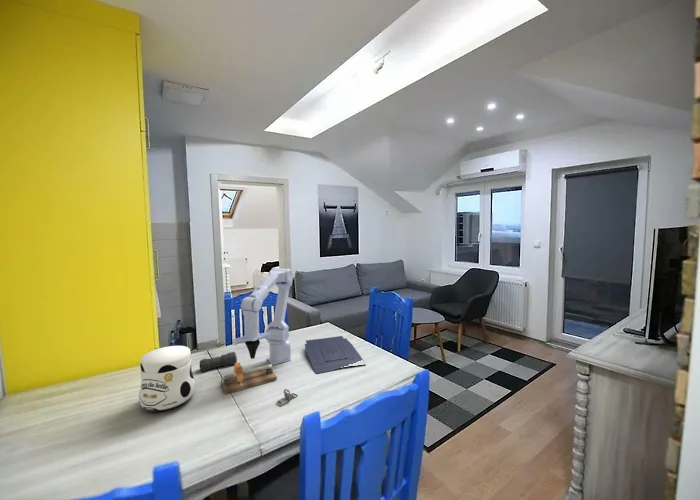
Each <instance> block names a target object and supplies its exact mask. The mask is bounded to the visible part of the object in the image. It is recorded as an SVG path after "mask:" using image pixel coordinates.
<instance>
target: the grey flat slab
mask: <svg viewBox="0 0 700 500" xmlns="http://www.w3.org/2000/svg"><path fill="white" fill-rule="evenodd" d="M304 349H305V351H306V352H305V353H306V354H307V356H308V360H309V361H310V363H311V366H312V369H313V370H314V372H315V374H320V373H326V372H331V371H336V370H335V369H337V370H339V369H338V368H341V367H344V366H348V365H349V364H353V363H356V362H358V361H361V360H363V361H364V359H363V357H362V356H361V355H360V353H359V352H358V350H357V349H356V348H355V346H354V345H353V344H352V343H351V341H350V340H348V339H347V338H344V337H343V335H340V336H338V335H337V336H331V337H324V338H315V339H308V340H307V339H306V340H305V343H304Z"/></svg>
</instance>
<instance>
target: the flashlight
mask: <svg viewBox="0 0 700 500" xmlns="http://www.w3.org/2000/svg"><path fill="white" fill-rule="evenodd" d="M235 363H238V356H237V351H231V352H228V353H226V354H221V355H220V356H216V357H211V358H203V359H200V360H199V364H198V365H199V366H198V367H199V370H200V372H207V371H209V370H212V369H215V368H218V367H221V366H222V367H225V366H231V365H234V364H235Z"/></svg>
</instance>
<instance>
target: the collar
mask: <svg viewBox="0 0 700 500" xmlns="http://www.w3.org/2000/svg"><path fill="white" fill-rule="evenodd" d="M233 368H234V369H233V371H234V372H233V373H236V374H237V378H236V380H237V382H242V381H243V371H244V370H243V366H242V365H241V363H240V362H237V363H235V364H233Z"/></svg>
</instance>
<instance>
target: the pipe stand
mask: <svg viewBox="0 0 700 500" xmlns="http://www.w3.org/2000/svg"><path fill="white" fill-rule="evenodd" d="M277 377H278V376H277V375H276V374H275V372H274V370H273V365H272V364H271V363H270V364H266V365H262V366H258V367H254V368H250V369H245V370H243V381H242V382H237V380H236V378H237V374H236V373H234V372H233V373H230V374H226V375H223V378H221V379H220V384H221V386H222V389H223V391H224V393H225V395H228V394H232V393H235V392H238V391H242V390H246V389H249V388H253V387H256V386H260V385H263V384H267V383H270V382H274V381H277V379H278V378H277Z"/></svg>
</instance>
